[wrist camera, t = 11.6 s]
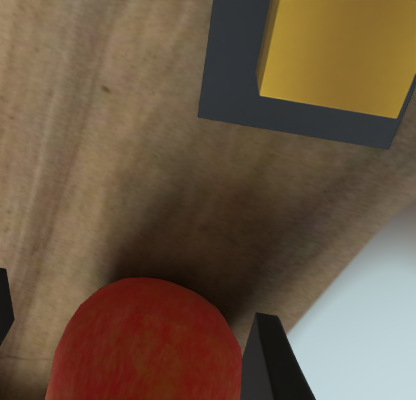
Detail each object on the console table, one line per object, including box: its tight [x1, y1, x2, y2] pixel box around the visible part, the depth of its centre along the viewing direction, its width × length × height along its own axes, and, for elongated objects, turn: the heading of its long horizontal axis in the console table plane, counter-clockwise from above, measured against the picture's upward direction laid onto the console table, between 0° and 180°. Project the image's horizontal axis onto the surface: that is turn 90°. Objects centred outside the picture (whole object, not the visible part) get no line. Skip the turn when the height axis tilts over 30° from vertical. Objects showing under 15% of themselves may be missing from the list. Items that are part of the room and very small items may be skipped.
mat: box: [198, 0, 416, 150], centre depth 14 cm, size 9×9×1 cm
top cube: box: [256, 0, 416, 118], centre depth 12 cm, size 4×4×4 cm
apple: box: [45, 277, 242, 400], centre depth 19 cm, size 10×10×10 cm
